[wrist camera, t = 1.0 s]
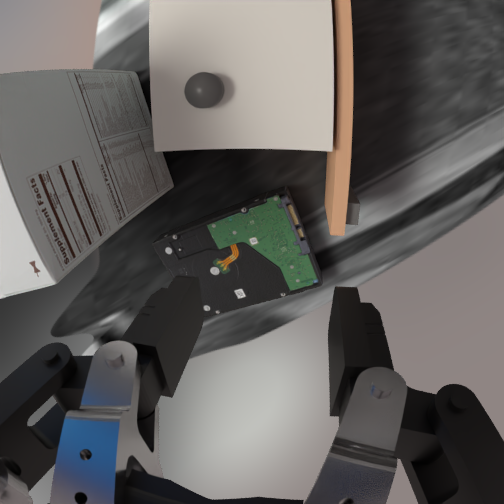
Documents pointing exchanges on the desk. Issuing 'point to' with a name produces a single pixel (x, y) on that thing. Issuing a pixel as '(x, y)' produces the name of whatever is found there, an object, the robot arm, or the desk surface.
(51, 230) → the supplement box
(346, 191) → the door
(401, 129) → the desk surface
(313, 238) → the desk surface
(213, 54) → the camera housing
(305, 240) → the disk drive
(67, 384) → the robot arm
